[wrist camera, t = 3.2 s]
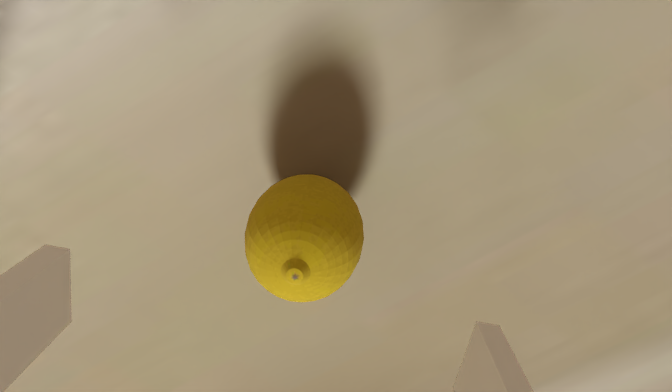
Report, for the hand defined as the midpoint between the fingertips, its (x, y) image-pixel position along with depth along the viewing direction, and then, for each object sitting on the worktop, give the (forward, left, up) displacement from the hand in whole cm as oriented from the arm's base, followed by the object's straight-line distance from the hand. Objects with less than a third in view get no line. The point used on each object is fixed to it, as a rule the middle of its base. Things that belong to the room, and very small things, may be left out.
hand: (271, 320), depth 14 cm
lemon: (0, 0, -11) cm, 11 cm away
